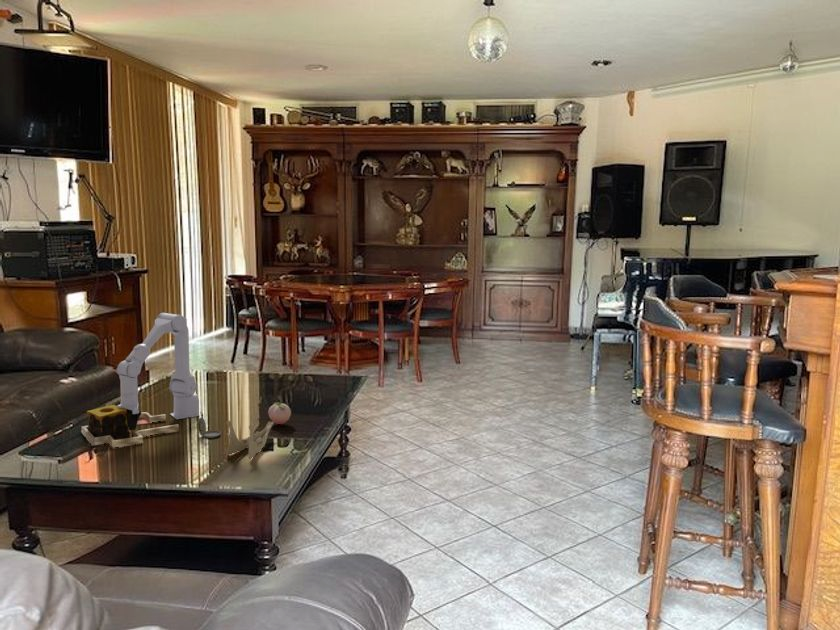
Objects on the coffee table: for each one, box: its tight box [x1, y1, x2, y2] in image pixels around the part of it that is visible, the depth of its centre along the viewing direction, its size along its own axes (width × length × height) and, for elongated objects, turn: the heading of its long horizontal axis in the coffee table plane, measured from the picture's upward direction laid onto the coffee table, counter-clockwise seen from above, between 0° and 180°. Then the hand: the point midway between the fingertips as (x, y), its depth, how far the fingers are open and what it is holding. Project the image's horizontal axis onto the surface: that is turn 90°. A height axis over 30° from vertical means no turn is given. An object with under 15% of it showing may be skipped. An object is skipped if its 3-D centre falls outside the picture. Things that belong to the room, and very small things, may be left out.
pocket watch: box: [197, 411, 221, 439], centre depth 229 cm, size 8×8×10 cm
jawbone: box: [225, 420, 275, 460], centre depth 219 cm, size 25×10×14 cm, turn 166°
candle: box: [86, 404, 129, 440], centre depth 222 cm, size 10×10×10 cm
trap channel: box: [81, 411, 180, 449], centre depth 229 cm, size 30×29×2 cm
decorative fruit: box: [267, 401, 292, 425], centre depth 246 cm, size 9×8×10 cm
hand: (130, 427), depth 228 cm, fingers open, 5 cm apart
